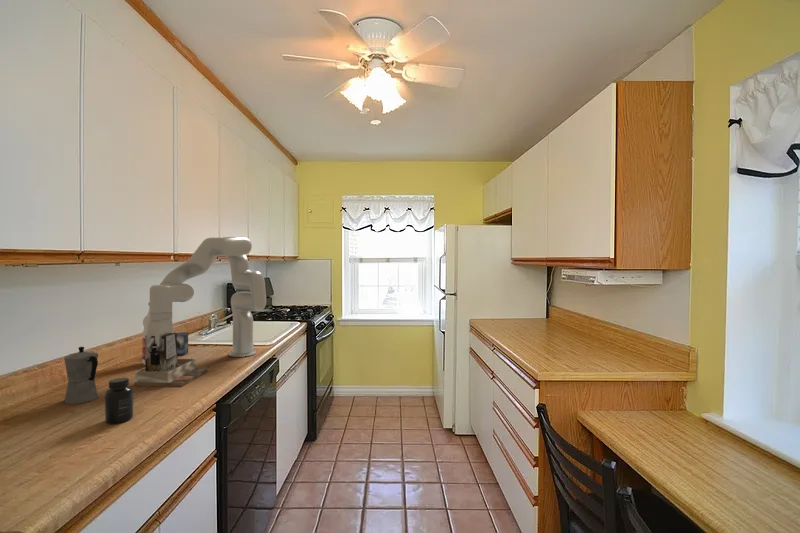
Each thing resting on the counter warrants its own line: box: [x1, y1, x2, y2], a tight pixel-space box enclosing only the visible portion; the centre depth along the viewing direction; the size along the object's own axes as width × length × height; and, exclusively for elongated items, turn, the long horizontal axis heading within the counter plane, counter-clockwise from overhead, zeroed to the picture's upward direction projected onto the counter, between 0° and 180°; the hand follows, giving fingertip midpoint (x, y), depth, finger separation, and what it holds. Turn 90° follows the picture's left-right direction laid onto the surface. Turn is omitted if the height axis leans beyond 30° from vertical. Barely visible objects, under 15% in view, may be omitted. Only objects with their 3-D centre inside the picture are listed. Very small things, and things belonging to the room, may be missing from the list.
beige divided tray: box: [134, 358, 209, 387], centre depth 155 cm, size 20×18×5 cm
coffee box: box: [144, 332, 178, 372], centre depth 150 cm, size 9×6×16 cm
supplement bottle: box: [104, 377, 134, 425], centre depth 115 cm, size 7×7×12 cm
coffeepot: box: [63, 346, 99, 405], centre depth 130 cm, size 15×9×18 cm, turn 65°
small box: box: [176, 331, 189, 357], centre depth 192 cm, size 11×6×10 cm, turn 102°
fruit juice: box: [141, 301, 150, 366], centre depth 175 cm, size 9×9×28 cm
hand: (161, 361), depth 150 cm, fingers closed on coffee box, 6 cm apart
